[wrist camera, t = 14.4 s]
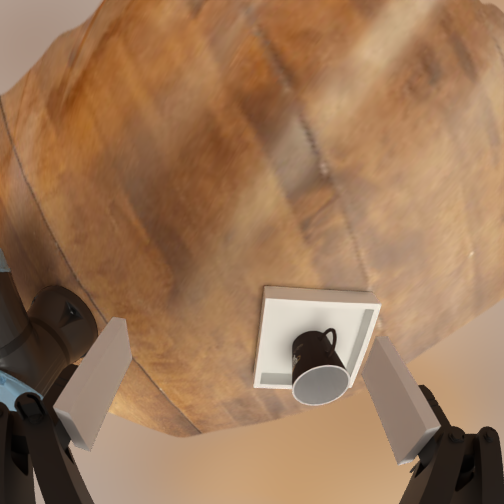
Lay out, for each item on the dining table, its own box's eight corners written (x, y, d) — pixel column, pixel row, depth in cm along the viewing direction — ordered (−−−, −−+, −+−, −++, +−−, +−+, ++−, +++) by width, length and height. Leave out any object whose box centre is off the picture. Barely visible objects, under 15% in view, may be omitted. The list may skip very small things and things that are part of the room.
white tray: (253, 372, 51) (253, 387, 47) (264, 285, 45) (265, 298, 41) (346, 373, 51) (351, 387, 48) (372, 292, 45) (381, 303, 42)
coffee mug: (312, 370, 50) (322, 411, 40) (275, 351, 48) (279, 393, 39) (356, 326, 46) (376, 364, 37) (320, 302, 45) (335, 340, 35)
